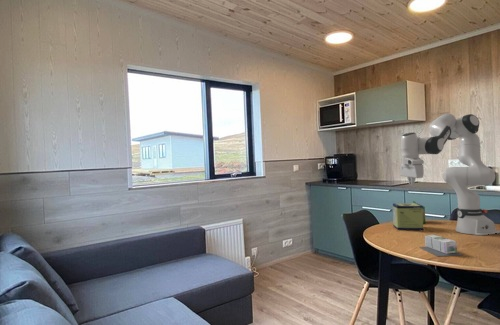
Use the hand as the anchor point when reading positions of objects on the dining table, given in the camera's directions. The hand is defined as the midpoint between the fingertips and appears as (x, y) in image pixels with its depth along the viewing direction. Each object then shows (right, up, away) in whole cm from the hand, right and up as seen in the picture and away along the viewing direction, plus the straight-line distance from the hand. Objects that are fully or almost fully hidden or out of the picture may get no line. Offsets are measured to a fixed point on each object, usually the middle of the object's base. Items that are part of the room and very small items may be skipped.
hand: (411, 184), depth 183 cm
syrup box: (0, -27, -18) cm, 33 cm away
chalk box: (+23, -29, +39) cm, 54 cm away
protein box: (+9, -30, +22) cm, 38 cm away
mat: (0, -31, -27) cm, 41 cm away
